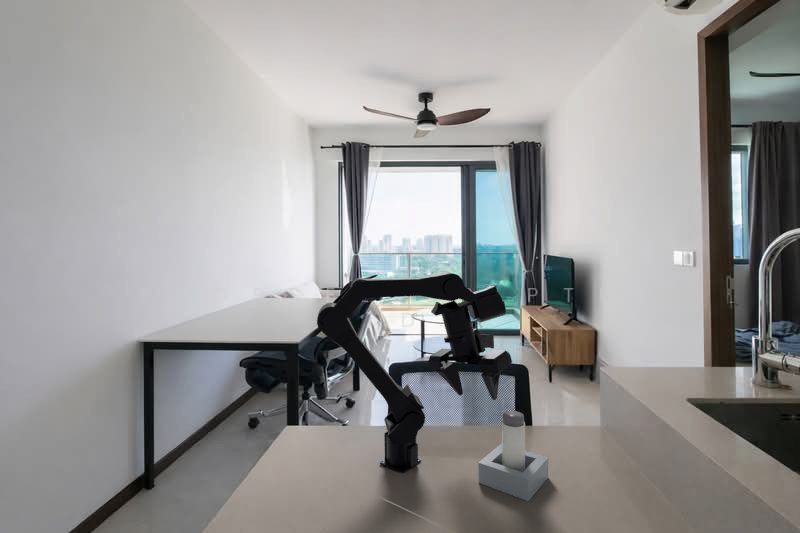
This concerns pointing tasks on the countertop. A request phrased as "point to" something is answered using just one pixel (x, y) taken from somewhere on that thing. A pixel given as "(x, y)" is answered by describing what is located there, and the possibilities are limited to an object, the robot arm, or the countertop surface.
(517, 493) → the socket block
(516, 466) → the white plastic bottle
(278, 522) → the countertop surface
